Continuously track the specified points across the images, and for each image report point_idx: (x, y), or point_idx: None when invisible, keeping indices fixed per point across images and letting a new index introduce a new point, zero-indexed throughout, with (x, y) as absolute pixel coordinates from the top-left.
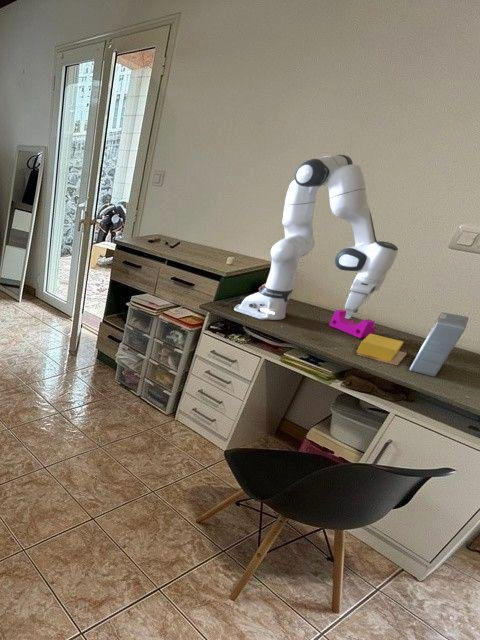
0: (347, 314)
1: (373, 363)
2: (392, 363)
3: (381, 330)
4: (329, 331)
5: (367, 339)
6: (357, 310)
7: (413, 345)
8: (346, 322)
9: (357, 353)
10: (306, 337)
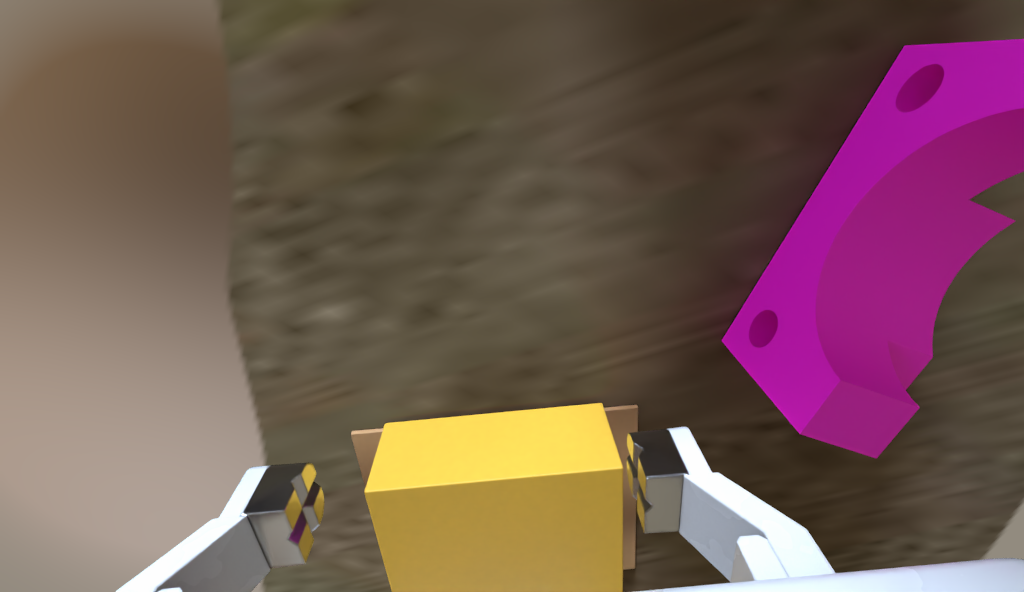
0: (226, 526)
1: None
2: None
3: (1015, 372)
4: (710, 124)
5: (450, 499)
6: (639, 511)
7: None
8: (927, 198)
9: (366, 434)
10: (351, 43)
